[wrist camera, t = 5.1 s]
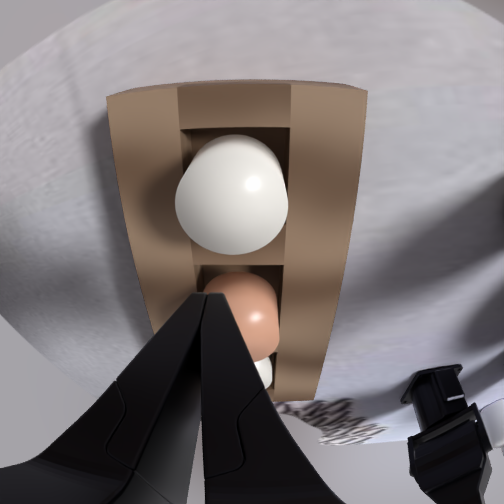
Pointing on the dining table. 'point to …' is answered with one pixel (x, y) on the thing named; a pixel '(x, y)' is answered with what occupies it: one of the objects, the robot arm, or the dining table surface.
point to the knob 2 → (265, 370)
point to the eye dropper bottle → (494, 423)
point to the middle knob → (251, 309)
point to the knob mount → (297, 187)
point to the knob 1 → (232, 196)
